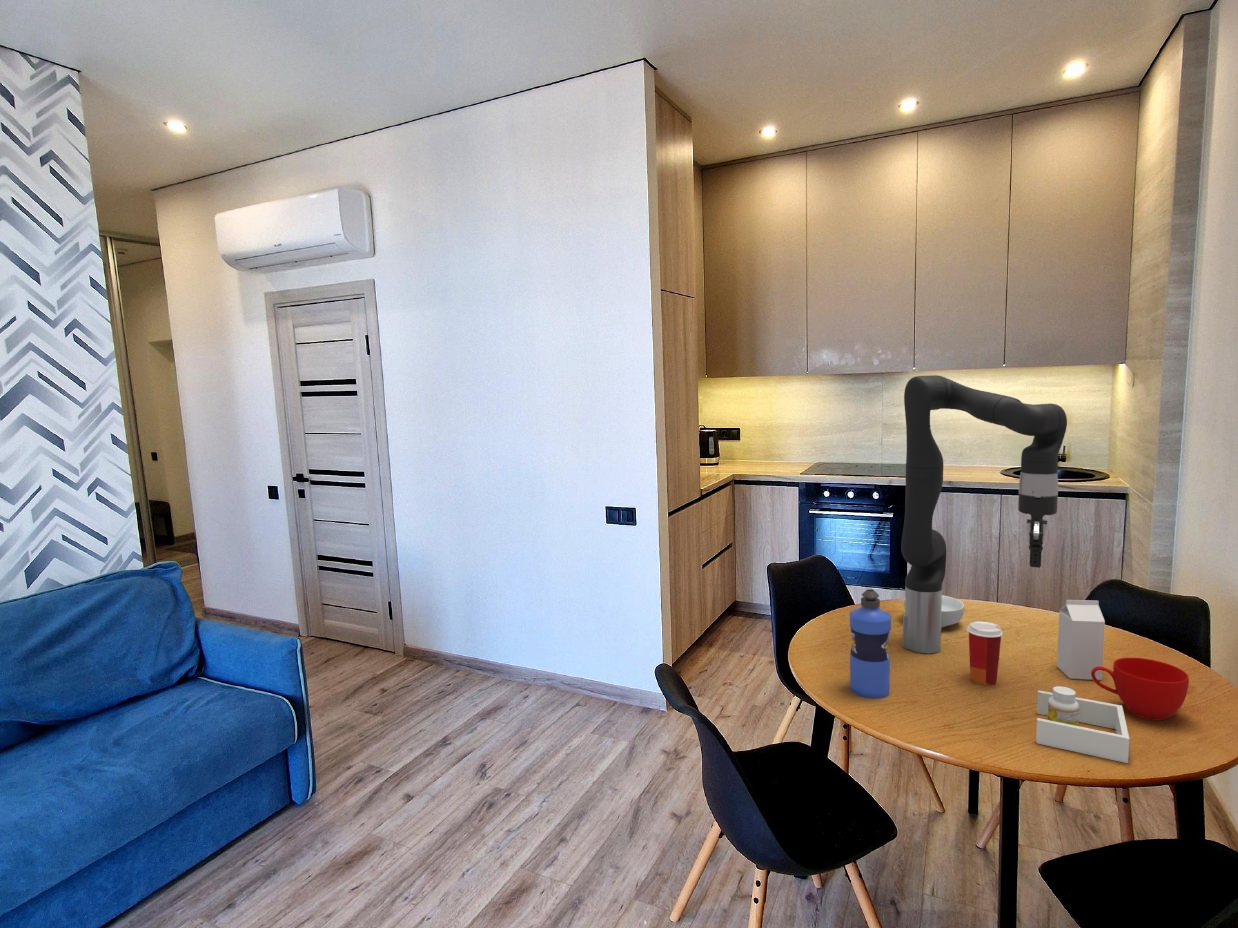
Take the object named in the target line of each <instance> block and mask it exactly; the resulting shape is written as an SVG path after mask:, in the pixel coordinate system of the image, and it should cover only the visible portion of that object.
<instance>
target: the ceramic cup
mask: <svg viewBox="0 0 1238 928" xmlns="http://www.w3.org/2000/svg"><path fill="white" fill-rule="evenodd" d="M1112 664H1113V667H1112V670H1111V669H1109V668H1107V667H1105V666H1102V667H1101V666H1097V667H1094V668H1093V669H1092V671H1091V676H1092V678H1093V682H1094V683H1095V684H1096V685H1097V686H1098V687H1100V688H1102V689H1104V690H1106V691H1107V692H1109V693H1112V694H1115V695H1117V696H1118V697H1119V699H1120V701H1121V702H1122V703H1123V705H1124V706H1125V707H1126V708H1127V709H1128V710H1129V711H1130V713H1132V714H1134V715H1136V716H1138V717H1140V718H1143V719H1148V720H1151V721H1152V720H1155V721H1163V720H1166V719H1168V718H1169V717H1171V716H1173V715H1174V714H1175V713H1176V712H1178V711H1179V710H1180V708H1182V706H1183V704H1184V702H1185V699H1186V697H1187V694H1188V690H1189V684H1190V677H1189V674H1188V673H1187V672H1186V671H1184V670H1183V669H1181V668H1179V667H1178V666H1175V665H1172V664H1170V663H1166V662H1163V661H1159V660H1155V659H1148V658H1144V657H1131V656H1130V657H1119V658H1117V659H1115V660H1114V661H1113V663H1112ZM1098 670H1102V672H1103V671H1104V672H1105V673H1107V674H1109V675H1110V677H1111V678H1112V680H1113V682H1114V688H1111V687H1109V686H1107V685H1105V684H1103V683H1101V681H1100V680H1097V679H1096V677H1095V672H1096V671H1098Z"/></svg>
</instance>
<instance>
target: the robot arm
mask: <svg viewBox="0 0 1238 928" xmlns="http://www.w3.org/2000/svg"><path fill="white" fill-rule="evenodd" d="M903 397H904V398H903V401H904V402H903V403H904V404H903V405H904V414H905V415H904V416H905V429H906V431H905V432H906V433H905V434H906V458H905V498H904V502H905V503H904V506H905V507H904V509H905V510H904V521H903V522H904V523H903V528H902V534H901V544H900V550H901V555H902V557H903V558H904V560H905V561H906V562H907V563H908V564H909V565H911V566H910V569H909V571H908V572H907V574H906V576H905V580H904V581H905V582H904V583H905V584H904V587H905V589H904V594H905V595H904V598H905V609H904V613H903V616H902V617H903V618H902V648H903V649H908V650H909V651H911V652H916V653H919V654H935V653H939V652H940V651H941V645H942V628H941V608H942V595H943V582H944V580H945V578H946V569H947V567H946V566H947V544H946V540H945V538H944V536H943V535H942V533H940V532H939V531H938V530H935V529H933V518H934V513H935V509H936V506H937V504H938V501H939V498H940V495H941V492H942V488H943V483H944V457H943V453H942V452H941V450H940V448H939V446H938V444H937V442H936V440H935V438H934V436H933V433H932V429H931V411H937V410H956V411H957V410H958V411H962V412H965V413H967V414H969V415H970V416H972V417H973V418H976V419H978V420H979V421H983V422H986V423H990V424H994V425H998V426H1001V427H1005V428H1006V429H1008V430H1010V431H1013V432H1015V433H1017V434H1020V435H1024V436H1029V437H1033V440H1032V443H1031V444H1030V445H1028V446H1026V447H1025V448H1023V450H1022V451H1021V455H1020V456H1021V458H1020V476H1019V482H1018V500H1017V501H1018V503H1017V505H1018V507H1017V510H1018V511H1019V512H1020V513H1021V514H1024V515H1025V514H1026V515H1030V519H1029V518H1028V519H1026V530H1027V535H1026V536H1027V541H1028V542H1029V545H1028V550H1029V567H1031V568H1041V567H1042V553H1043V551H1044V546H1043V545H1044V543H1045V542H1046V531H1047V530H1048V520H1046V519H1043V518H1044V516H1053V515H1056V514H1057V512H1058V503H1059V502H1058V501H1059V500H1058V499H1059V496H1058V495H1059V477H1058V469H1059V468H1058V466H1059V453H1060V450H1061V448H1062V445H1063V441H1064V439H1065V435H1066V432H1067V427H1068V417H1067V414H1066V412H1065V410H1064V409H1063V408H1062V406H1060V405H1059V404H1056V403H1040V404H1038V403H1036V404H1032V403H1024V402H1022V401H1021V400H1020V399H1019V398H1016V397H1012V396H1009V395H1004V394H1001V393H995V392H991V391H985V390H980V389H976V388H972V387H970V386H967V385H964V384H961V383H959V382H957V381H955V380H952V379H950V378H947V377H945V376H942V375H935V374H933V375H931V374H930V375H918V376H917V375H916V376H914V377H913V376H912V377H911V378H910V379H909V380H908V381H907V383H906V385H905V388H904V394H903Z"/></svg>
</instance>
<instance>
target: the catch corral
mask: <svg viewBox="0 0 1238 928" xmlns="http://www.w3.org/2000/svg"><path fill="white" fill-rule="evenodd" d="M1052 696H1053V694H1052V692H1049V691H1044V690H1037V703H1036V704H1037V709H1036V711H1037V712H1036V714H1038V715H1042V716H1047V717H1048V701H1049V698H1050V697H1052ZM1075 701H1076V702H1077V703H1078V704H1079V721H1078V723H1083V724H1087V725H1094V726H1096V727H1097V726H1098V727H1103V728H1109V729H1113V730H1115V733H1112V732H1108V731H1104V730H1099V729H1098V730H1097V729H1094V728H1089V727H1083V726H1079V725H1078V726H1075V725H1070V724H1065V723H1060V722H1055V721H1050V720H1048V719H1044V718H1039V717H1036V736H1035V737H1036V740H1035V743H1036V744H1038V745H1044V746H1048V747H1051V748H1052V747H1053V748H1057V749H1062V750H1066V751H1071V752H1075V753H1080V754H1085V755H1089V756H1093V757H1098V758H1101V759H1106V760H1112V761H1116V762H1121V763H1125V764H1129V752H1130V734H1129V729H1128V726H1127V722H1126V717H1125V713H1124V708H1123V705H1121V704H1120V705H1119V704H1115V703H1109V702H1104V701H1099V700H1093V699H1089V698H1082V697H1077V696H1076V699H1075Z"/></svg>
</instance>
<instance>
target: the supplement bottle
mask: <svg viewBox="0 0 1238 928" xmlns="http://www.w3.org/2000/svg"><path fill="white" fill-rule="evenodd" d="M1051 691H1052V692H1051V693H1052V694H1053V696H1052V697H1050V698H1049V701H1048V716H1047V720H1050V721H1055V722H1060V723H1065V724H1070V725H1075V726H1079V722H1078V721H1079V704H1078V703H1077V702H1076V701H1075V699H1076V697H1077V693H1076V691H1075V690H1074V689H1072V688H1070V687H1065V686H1061V685H1060V686H1059V685H1058V686H1054V687H1052V690H1051Z"/></svg>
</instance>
